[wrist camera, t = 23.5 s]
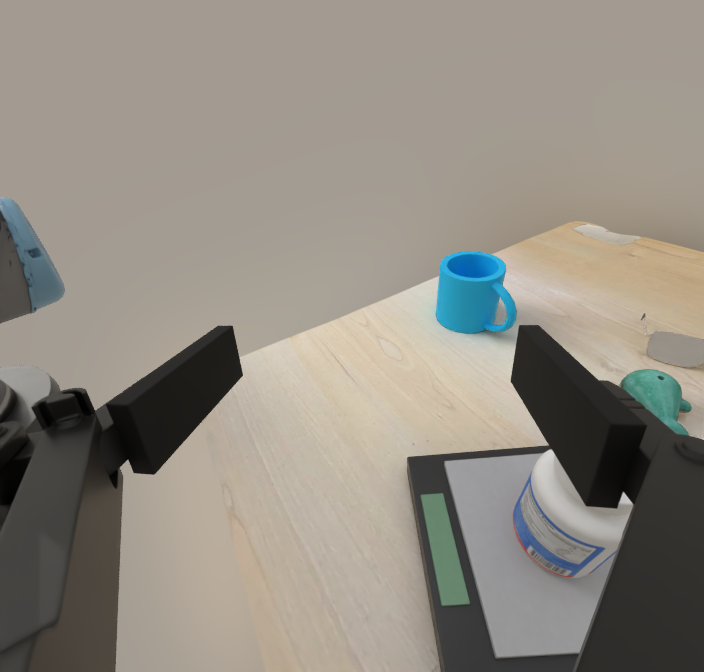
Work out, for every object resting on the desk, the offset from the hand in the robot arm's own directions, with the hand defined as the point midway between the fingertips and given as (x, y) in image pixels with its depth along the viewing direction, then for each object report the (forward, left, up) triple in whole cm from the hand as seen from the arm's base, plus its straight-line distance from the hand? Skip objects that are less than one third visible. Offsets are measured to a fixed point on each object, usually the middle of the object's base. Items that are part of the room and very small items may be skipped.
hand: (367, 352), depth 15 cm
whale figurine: (+28, +8, -20) cm, 35 cm away
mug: (+16, +25, -20) cm, 36 cm away
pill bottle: (+12, -3, -17) cm, 21 cm away
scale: (+11, -3, -20) cm, 22 cm away
